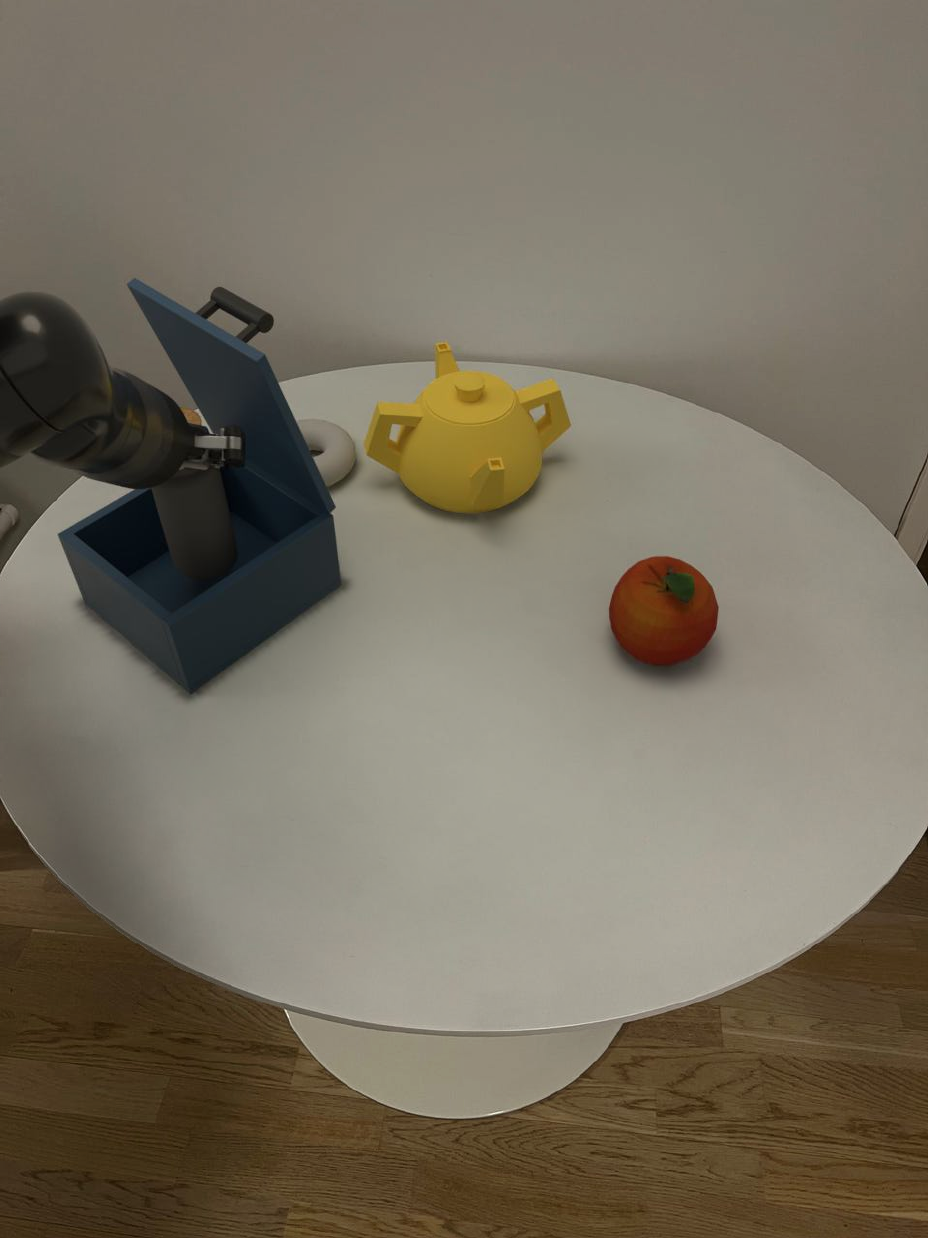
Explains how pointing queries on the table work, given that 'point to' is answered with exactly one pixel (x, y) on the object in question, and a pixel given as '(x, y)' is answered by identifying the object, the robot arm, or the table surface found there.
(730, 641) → the table surface
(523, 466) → the teapot
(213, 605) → the cool box
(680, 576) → the fruit
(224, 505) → the bottle
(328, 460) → the donut
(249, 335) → the cool box lid
